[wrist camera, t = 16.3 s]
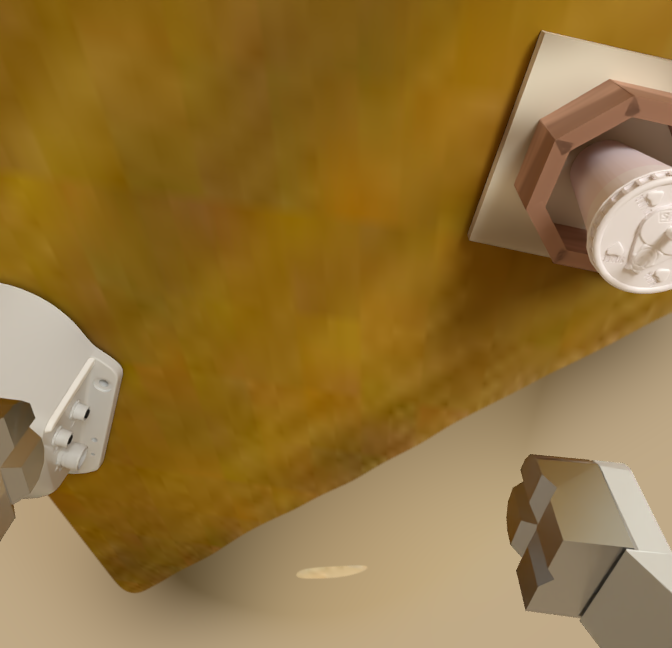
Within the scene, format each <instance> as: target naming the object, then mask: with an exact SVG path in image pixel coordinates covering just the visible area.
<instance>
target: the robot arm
mask: <svg viewBox="0 0 672 648" xmlns="http://www.w3.org/2000/svg"><path fill="white" fill-rule="evenodd" d="M122 376H123V370H122V367H121V366H120V365H119V363H118V362H116V361H115V360H114V359H113V358H111V357H110V356H109V355H107V354H106V353H104V352H103V351H101V350H100V349H98V348H96V347H95V346H94V345H93V344H92V343H91V342H90V341H89V340H88V339H87V337H86V336H85V335H84V334H83V332H82V331H81V330H80V329H79V328H78V327H77V325H76V324H75V323H74V322H73V321H72V320H71V319H70V318H69V317H67V316H66V315H65V314H64V313H63V312H61V311H60V310H59V309H58V308H56V307H55V306H53V305H52V304H50V303H49V302H47V301H45V300H44V299H42V298H40V297H38V296H36V295H34V294H32V293H30V292H28V291H25V290H23V289H20V288H17V287H14V286H10V285H7V284H2V283H0V541H1V539H2V538H3V536H4V534H5V533H6V531H7V530H8V528H9V527H10V525H11V523H12V522H13V520H14V519H15V512H14V506H13V504H15V503H16V502H18V501H19V500H21V499H25V498H26V499H28V498H39V497H42V496H46V495H49V494H51V493H53V492H54V491H55V490H56V489H57V488H58V487H59V486H60V485H61V483H62V482H63V480H64V479H65V477H66V476H67V474H79V473H88V472H92V471H96V470H97V469H98V468H99V467H100V466H101V464H102V463H103V460H104V456H105V452H106V447H107V443H108V438H109V434H110V429H111V425H112V421H113V416H114V412H115V407H116V403H117V398H118V394H119V389H120V385H121V380H122ZM105 380H106V381H105ZM521 474H522V477H523V482H522V483H520V484H519V485H517V486H515V487H514V488H513V489H512V492H511V495H510V498H509V500H508V507H507V517H506V518H507V531H508V535H509V540H510V545H511V546H512V547H513V548H514V549H515V550H516V551H517V553H518V554H519V555H520V556H521V557H522V559H521V561H520V563H519V566H518V568H517V570H516V572H517V576H518V580H519V584H520V589H521V593H522V597H523V601H524V606H525V610H526V611H532V612H540V613H546V614H554V615H561V616H569V617H576V618H581V619H580V622H581V623H582V625H583V626H584V627H585V629H586V630H587V631H588V632H589V634H590V635H591V636H592V638H593V639H594V640H595V642H596V643H597V644H598V646H599V647H600V648H672V551H671V549H670V547H669V545H668V543H667V541H666V539H665V537H664V535H663V533H662V531H661V529H660V527H659V525H658V523H657V521H656V519H655V517H654V515H653V513H652V511H651V509H650V507H649V505H648V503H647V501H646V499H645V497H644V495H643V493H642V491H641V489H640V487H639V485H638V483H637V481H636V479H635V477H634V475H633V473H632V471H631V469H630V468H629V467H628V466H627V465H625V464H624V463H615V462H605V461H595V460H594V461H593V460H592V461H590V460H585V459H575V458H565V457H554V456H543V455H533V454H530V455H529V456H528V457H527V458H526V459H525V461H524V463H523V465H522V468H521Z"/></svg>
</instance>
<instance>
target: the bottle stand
mask: <svg viewBox="0 0 672 648" xmlns="http://www.w3.org/2000/svg"><path fill="white" fill-rule="evenodd" d="M603 140H614V141H618V142H620V143H623V144H625V145H627V146H629V147H631V148H633V149H635V150H637V151H639V152H641V153H643V154H645V155H648V156H650V157H652V158H654V159H656V160H658V161H660V162H662V163H664V164H666V165H668V166H670V167H672V60H669V59H664V58H660V57H656V56H651V55H647V54H643V53H638V52H634V51H629V50H625V49H621V48H616V47H612V46H608V45H603V44H599V43H594V42H590V41H586V40H581V39H577V38H573V37H568V36H564V35H559V34H555V33H551V32H546V31H542V30H541V33H540V36H539V38H538V41H537V44H536V47H535V49H534V52H533V55H532V58H531V60H530V63H529V66H528V69H527V71H526V74H525V77H524V80H523V82H522V85H521V88H520V91H519V93H518V96H517V99H516V102H515V104H514V107H513V110H512V113H511V115H510V118H509V121H508V124H507V126H506V129H505V132H504V135H503V137H502V140H501V143H500V146H499V148H498V151H497V154H496V157H495V159H494V162H493V165H492V168H491V170H490V173H489V176H488V179H487V182H486V184H485V187H484V190H483V193H482V195H481V198H480V201H479V204H478V206H477V209H476V212H475V215H474V217H473V220H472V223H471V226H470V228H469V231H468V238H469V240H470V241H474V242H479V243H484V244H488V245H493V246H498V247H502V248H507V249H512V250H517V251H521V252H526V253H531V254H535V255H540V256H545V257H550V258H551V259H552V262H553V263H556V264H560V265H565V266H570V267H575V268H579V269H584V270H589V271H593V272H597V270H596V269H595V268H594V266H593V265H592V263H591V262H590V259H589V256H588V252H587V249H586V244H587V230H586V227H585V223H584V220H583V217H582V214H581V211H580V208H579V205H578V202H577V199H576V196H575V193H574V190H573V187H572V184H571V180H570V171H571V167H572V164H573V162H574V160H575V159H576V157H577V156H578V155H579V153H580V152H581V151H583V150H584V149H585V148H586V147H588V146H589V145H591V144H593V143H596V142H599V141H603Z"/></svg>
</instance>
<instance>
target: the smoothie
mask: <svg viewBox="0 0 672 648" xmlns="http://www.w3.org/2000/svg"><path fill="white" fill-rule="evenodd" d="M570 180H571V184H572V187H573V190H574V193H575V196H576V199H577V202H578V205H579V208H580V211H581V214H582V217H583V220H584V223H585V227H586V230H587V244H586V249H587V252H588V256H589V259H590V262H591V263H592V265H593V266H594V268H595V269H596V270H597V272H598V273H599V274H600V275H601V276H602V278H603V279H604V280H605V281H607V282H608V283H609V284H611V285H612V286H614V287H616V288H618V289H620V290H623V291H627V292H631V293H640V294H649V293H658V292H663V291H667V290H671V289H672V167H670V166H668V165H666V164H664V163H662V162H660V161H658V160H656V159H654V158H652V157H650V156H648V155H645V154H643V153H641V152H639V151H637V150H635V149H633V148H631V147H629V146H627V145H625V144H623V143H620V142H618V141H614V140H603V141H599V142H596V143H593V144H591V145H589V146H588V147H586V148H585V149H584V150H583V151H581V152H580V153H579V155H578V156H577V157H576V159H575V160H574V162H573V164H572V167H571V171H570Z"/></svg>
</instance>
